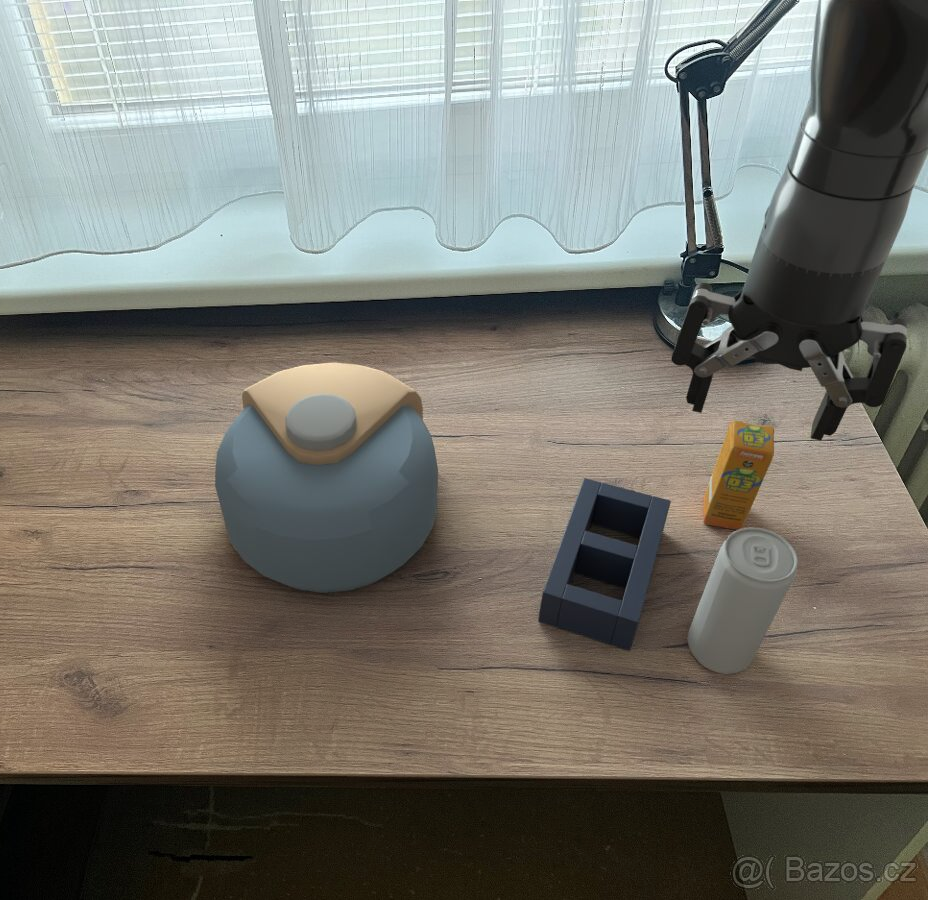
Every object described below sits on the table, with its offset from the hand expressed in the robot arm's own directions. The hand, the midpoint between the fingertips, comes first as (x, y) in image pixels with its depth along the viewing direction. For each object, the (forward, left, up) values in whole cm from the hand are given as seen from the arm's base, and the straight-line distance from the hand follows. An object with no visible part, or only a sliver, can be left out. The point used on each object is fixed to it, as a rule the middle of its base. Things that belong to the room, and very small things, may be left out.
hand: (756, 418), depth 68 cm
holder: (+8, +10, -12) cm, 17 cm away
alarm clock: (+32, +12, -12) cm, 36 cm away
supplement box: (0, 0, -12) cm, 12 cm away
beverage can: (-2, +14, -12) cm, 18 cm away
